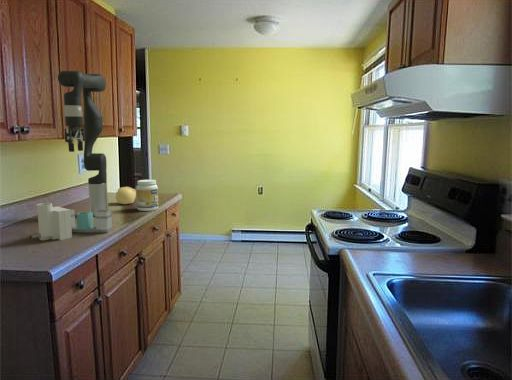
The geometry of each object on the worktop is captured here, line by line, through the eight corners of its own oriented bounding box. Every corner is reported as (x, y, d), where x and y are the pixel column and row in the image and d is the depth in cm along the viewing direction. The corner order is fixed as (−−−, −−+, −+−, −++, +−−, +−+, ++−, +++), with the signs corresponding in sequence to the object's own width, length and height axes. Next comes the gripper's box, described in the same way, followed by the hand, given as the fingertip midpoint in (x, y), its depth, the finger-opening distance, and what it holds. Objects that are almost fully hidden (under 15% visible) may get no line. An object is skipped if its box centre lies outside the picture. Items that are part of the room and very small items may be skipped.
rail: (65, 229, 177) (63, 209, 176) (112, 229, 176) (111, 209, 175) (58, 232, 172) (57, 211, 170) (107, 232, 171) (106, 212, 170)
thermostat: (72, 237, 164) (69, 203, 161) (36, 245, 153) (33, 208, 151) (59, 232, 171) (56, 199, 169) (24, 239, 160) (21, 204, 158)
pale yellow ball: (138, 202, 246) (138, 185, 244) (130, 205, 234) (129, 188, 232) (121, 201, 247) (120, 185, 245) (112, 205, 235) (111, 187, 234)
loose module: (93, 226, 176) (92, 210, 175) (88, 229, 171) (87, 213, 170) (82, 226, 177) (81, 210, 175) (77, 229, 172) (76, 213, 170)
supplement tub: (156, 211, 218) (155, 181, 215) (134, 211, 217) (133, 182, 214) (160, 207, 230) (159, 179, 227) (139, 207, 229) (138, 179, 226)
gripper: (74, 115, 169) (76, 152, 172) (88, 116, 183) (91, 150, 186) (57, 115, 169) (60, 152, 172) (73, 116, 183) (75, 150, 186)
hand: (76, 151), depth 179 cm, fingers open, 8 cm apart
